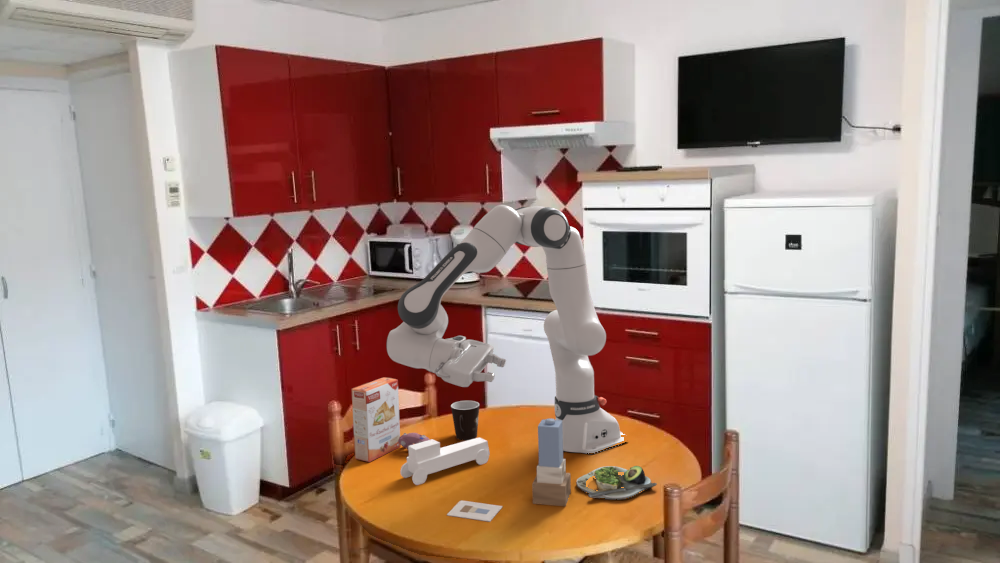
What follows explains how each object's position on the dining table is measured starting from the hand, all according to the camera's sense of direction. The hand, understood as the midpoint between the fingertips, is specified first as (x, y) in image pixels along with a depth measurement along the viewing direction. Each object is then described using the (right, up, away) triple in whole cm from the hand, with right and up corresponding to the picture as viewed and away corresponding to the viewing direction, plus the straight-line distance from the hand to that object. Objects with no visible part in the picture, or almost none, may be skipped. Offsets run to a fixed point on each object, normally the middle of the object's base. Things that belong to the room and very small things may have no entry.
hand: (499, 370), depth 185 cm
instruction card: (-6, -33, -7) cm, 34 cm away
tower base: (+13, -31, -1) cm, 34 cm away
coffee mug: (-11, -26, +42) cm, 50 cm away
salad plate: (+29, -30, +5) cm, 42 cm away
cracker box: (-35, -28, +32) cm, 55 cm away
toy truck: (-14, -30, +19) cm, 38 cm away
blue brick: (+13, -22, -2) cm, 26 cm away
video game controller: (-24, -28, +33) cm, 50 cm away
